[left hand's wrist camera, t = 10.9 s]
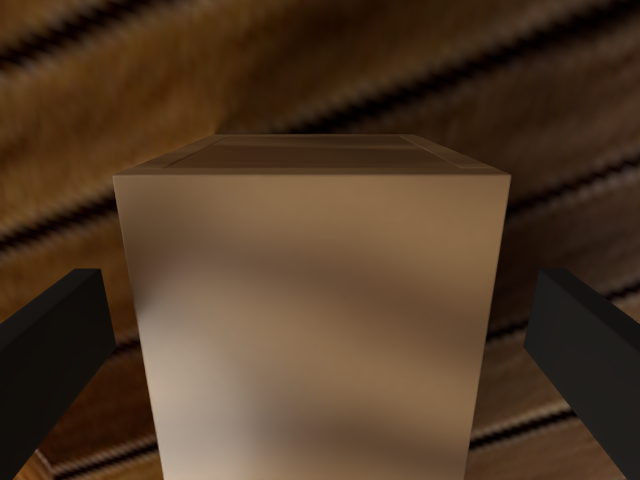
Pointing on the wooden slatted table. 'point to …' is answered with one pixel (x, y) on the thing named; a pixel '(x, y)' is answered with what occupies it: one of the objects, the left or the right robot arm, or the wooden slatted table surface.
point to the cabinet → (312, 303)
